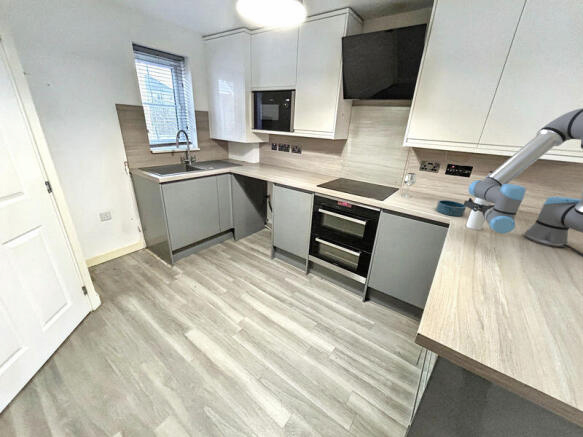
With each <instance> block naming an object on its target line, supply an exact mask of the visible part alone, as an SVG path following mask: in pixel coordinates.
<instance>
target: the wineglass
mask: <svg viewBox="0 0 583 437" xmlns="http://www.w3.org/2000/svg"><path fill="white" fill-rule="evenodd" d="M416 181H417V175H416V173H413V172H407V173H406V175H405V177H404V180H403V182H404V184H405V186H406V187H407V188H406V193H405V194H401V197H404V198H411V195H409V194H408V193H409V188H410V187H411V186H414V185H415V184H416V183H417V182H416Z"/></svg>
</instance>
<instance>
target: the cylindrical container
mask: <svg viewBox="0 0 583 437" xmlns="http://www.w3.org/2000/svg"><path fill="white" fill-rule="evenodd" d="M474 202H475V203H477V204H480V205H486V206H489V205H492V203H491V202H488V201H486V200H483V199H480V198H477V197H475V199H474ZM485 222H486V219H485V218H484V216H483V213H482V212H480V211H479V210H477V211H476V212H475V211H473V210H472V209H471V211H470V214H469V217H468V219H467V221H466V225H465V226H466V227H467V228H468V229H470V230H476V231H482V229H483V227H484V224H485Z"/></svg>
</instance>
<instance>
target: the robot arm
mask: <svg viewBox="0 0 583 437" xmlns="http://www.w3.org/2000/svg"><path fill="white" fill-rule="evenodd" d="M571 140H580V148H581V149H582V150H583V107H582V108H577V109H574V110H571V111H568V112H567V113H564V114H562V115H560V116H558V117H556V118H555V119H553V120H552V121H550V122H548V123H547V124H546V125H544V126H543V127H542V128H541V129H539V130H538V131H537V132H536V134H535V136H534V137H533V138H532V139H531V140H530V141H529V142H528V143H526V144H524V146H523V147H521V148H520V149H519V150H518V151H517V152H515V153H514V154H513V155H511V157H509V158H508V159H507V160H506V161H504V162H503V163H502V164H501V165H499V166H498V167H497V168H496V169H494V170H493V171H494V172H492V173H491V174H490V175H489V174H488V175H489V176H488V175H487V176H488V177H486V176H485V177H486V178H485V177H484V179H482V180H481V179H480V180H479V179H478V180H477V179H476V180H474V181H472V182H471V183H470V184H469V186H468V193H469V195H471V196H473V197H475V198H476V197H477V198H480V199H483V200H486V201H488V202H491V205H489V206H486V205H480V204H477V203H475V201H474V200H473V199H472V198H471V197H469V198H468V199H467V200H464V202H463V204H464V206H466V208H468V209H470V210H471V211H472V210H473V211H475V212H476V211H477V210H479V211H480V212H482V213H483V216H484V218H485V221H486V222H487V223H488V225H489V228H490V229H491V230H493V231H494V232H496V233H498V234H508V233H511V232H512V231H513V230H514V229H515V227H516V222H515V218H516V215H517V212H518V210H519V208H520V206H521V204H522V201H523V200H524V198H525V197H524V196H525V194H526V191H527V189H526V187H524V186H522V185H520V184H514V183H510V182H511V181H513V180H514V179H515V178H516V177H518V176H519V175H520V174H522V173H523V172H524V171H525V170H526V169H528V168H529V167H530V166H532V165H533V164H534V163H535V162H537V161H538V160H539V159H540V158H541V157H543V156H544V155H545V154H546V153H548V152H549V151H551V149H553V148H554V147H559V146H561V145H563V144H564V143H565V142H566V141H571ZM570 229H571V230H573V231H577V232H580V233H581V234H583V186H582V188H581V198H575V197H567V196H549V197H547V198H546V200H545V202H544V203H543V205H542V207H541V210H540V212H539V214H538V217H537V218H536V220H535V223H534V224H532V225H531V226H530V227H529V228H528V229H527V230H526V231H525V233H524V237H525V238H526V239H528V240H530V241H531V242H534V243H537V244H540V245H544V246H547V247H553V248H565V247H566V248H567V249H570V250H571V251H573V252H574V253H577V254H579V255H581V256H582V257H583V252H581V251H579V250H578V249H576V248H574V247H572V246H570V245H568V237H569V230H570Z"/></svg>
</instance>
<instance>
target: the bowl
mask: <svg viewBox="0 0 583 437" xmlns="http://www.w3.org/2000/svg"><path fill="white" fill-rule="evenodd" d="M466 209H467V207H466V206H464V203H463V202H459V201H454V200H447V199H441V200H438V201H437V204H436V208H435V210H436V211H437V212H439V213H441V214H443V215H446V216H452V217H460V216H461V217H462V216H464V215H465V212H466Z"/></svg>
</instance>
